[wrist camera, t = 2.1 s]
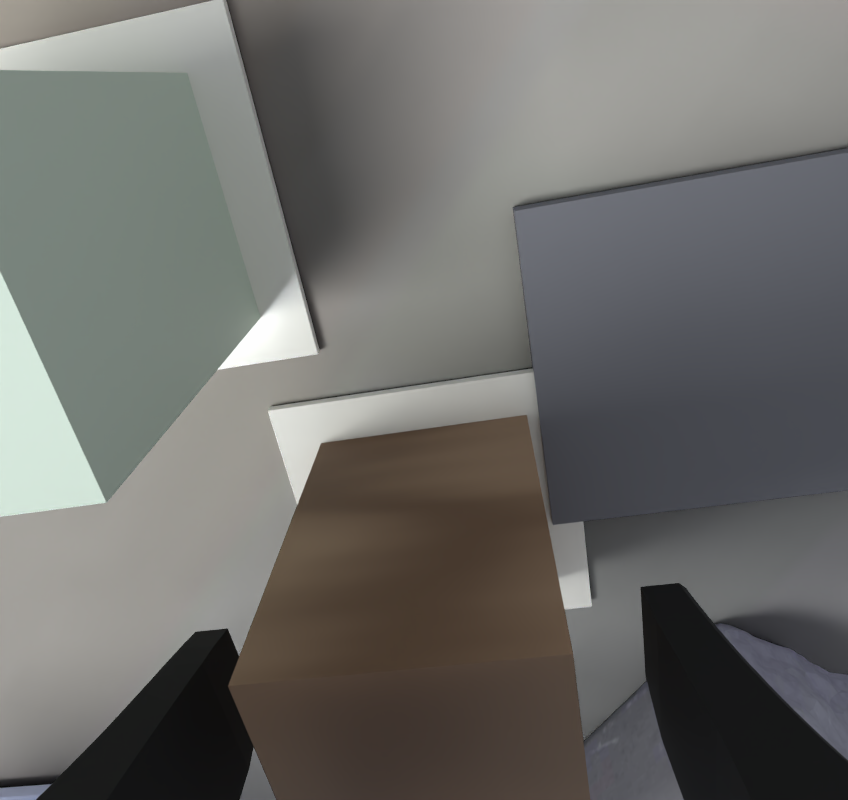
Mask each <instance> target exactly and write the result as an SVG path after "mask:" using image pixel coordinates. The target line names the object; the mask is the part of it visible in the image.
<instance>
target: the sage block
mask: <svg viewBox="0 0 848 800" xmlns="http://www.w3.org/2000/svg"><path fill="white" fill-rule="evenodd" d="M260 318H261V317H260V314H259V311H258V307H257V304H256V301H255V297H254V294H253V291H252V287H251V284H250V281H249V277H248V274H247V271H246V267H245V264H244V261H243V257H242V254H241V251H240V247H239V244H238V241H237V237H236V234H235V231H234V227H233V224H232V221H231V217H230V214H229V211H228V207H227V204H226V201H225V197H224V194H223V191H222V187H221V184H220V181H219V177H218V174H217V171H216V167H215V164H214V161H213V157H212V154H211V151H210V147H209V144H208V141H207V137H206V134H205V131H204V127H203V124H202V121H201V117H200V114H199V111H198V107H197V104H196V101H195V97H194V94H193V91H192V87H191V84H190V81H189V77H188V74H187V73H165V72H99V71H33V70H0V517H2V516H9V515H17V514H25V513H32V512H40V511H47V510H55V509H62V508H70V507H78V506H85V505H93V504H100V503H107V501H108V500H109V499H110V498H111V497H112V495H113V494H114V493H115V492H116V491H117V489H118V488H119V487H120V486H121V485H122V483H123V482H124V481H125V480H126V479H127V477H128V476H129V475H130V474H131V473H132V471H133V470H134V469H135V468H136V467H137V465H138V464H139V463H140V462H141V461H142V459H143V458H144V457H145V456H146V455H147V453H148V452H149V451H150V450H151V449H152V447H153V446H154V445H155V444H156V443H157V441H158V440H159V439H160V438H161V437H162V435H163V434H164V433H165V432H166V431H167V429H168V428H169V427H170V426H171V425H172V423H173V422H174V421H175V420H176V419H177V417H178V416H179V415H180V414H181V413H182V411H183V410H184V409H185V408H186V407H187V405H188V404H189V403H190V402H191V401H192V400H193V398H194V397H195V396H196V395H197V394H198V392H199V391H200V390H201V389H202V388H203V386H204V385H205V384H206V383H207V382H208V380H209V379H210V378H211V377H212V376H213V374H214V373H215V372H216V371H217V370H218V368H219V367H220V366H221V365H222V364H223V362H224V361H225V360H226V359H227V358H228V356H229V355H230V354H231V353H232V352H233V350H234V349H235V348H236V347H237V346H238V344H239V343H240V342H241V341H242V340H243V338H244V337H245V336H246V335H247V334H248V332H249V331H250V330H251V329H252V328H253V326H254V325H255V324H256V323H257V322H258V320H259V319H260Z"/></svg>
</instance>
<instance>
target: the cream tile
mask: <svg viewBox="0 0 848 800" xmlns="http://www.w3.org/2000/svg"><path fill="white" fill-rule="evenodd" d="M268 414H269V417H270V420H271V423H272V426H273V429H274V433H275V436H276V439H277V442H278V445H279V449H280V452H281V455H282V458H283V461H284V464H285V468H286V471H287V474H288V477H289V480H290V483H291V487H292V490H293V493H294V496H295V499H296V502H297V505H298V502H299V499H300V497H301V494H302V492H303V489H304V486H305V484H306V481H307V479H308V476H309V473H310V471H311V468H312V466H313V463H314V460H315V458H316V455H317V452H318V450H319V447H320V445H321V443H326V442H333V441H340V440H348V439H355V438H362V437H369V436H377V435H384V434H391V433H398V432H406V431H413V430H420V429H427V428H435V427H442V426H449V425H456V424H464V423H471V422H478V421H485V420H493V419H500V418H507V417H514V416H522V415H527V418H528V424H529V429H530V434H531V439H532V444H533V449H534V455H535V460H536V465H537V470H538V475H539V480H540V486H541V491H542V496H543V501H544V506H545V511H546V517H547V522H548V527H549V532H550V537H551V542H552V548H553V553H554V558H555V563H556V568H557V573H558V579H559V584H560V589H561V594H562V599H563V604H564V609H574V608H584V607H592V603H591V593H590V583H589V573H588V563H587V553H586V543H585V532H584V522H583V521H582V522H574V523H565V524H557V525H553V523H552V517H551V509H550V501H549V493H548V485H547V477H546V469H545V460H544V452H543V444H542V436H541V428H540V420H539V412H538V403H537V395H536V387H535V379H534V371H533V368H531V369H525V370H518V371H511V372H504V373H497V374H490V375H484V376H477V377H470V378H463V379H456V380H449V381H443V382H436V383H429V384H422V385H415V386H408V387H402V388H395V389H388V390H381V391H374V392H367V393H361V394H354V395H347V396H340V397H333V398H326V399H320V400H313V401H306V402H299V403H292V404H285V405H279V406H272V407H270V408H269V409H268Z"/></svg>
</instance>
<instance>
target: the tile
mask: <svg viewBox="0 0 848 800" xmlns="http://www.w3.org/2000/svg"><path fill="white" fill-rule="evenodd" d="M0 70H33V71H99V72H165V73H187V74H188V77H189V81H190V84H191V87H192V91H193V94H194V97H195V101H196V104H197V107H198V111H199V114H200V117H201V121H202V124H203V127H204V131H205V134H206V137H207V141H208V144H209V147H210V151H211V154H212V157H213V161H214V164H215V167H216V171H217V174H218V177H219V181H220V184H221V187H222V191H223V194H224V197H225V201H226V204H227V207H228V211H229V214H230V217H231V221H232V224H233V227H234V231H235V234H236V237H237V241H238V244H239V247H240V251H241V254H242V257H243V261H244V264H245V267H246V271H247V274H248V277H249V281H250V284H251V287H252V291H253V294H254V297H255V301H256V304H257V307H258V311H259V314H260V317H261V318H260V319H259V320H258V322H257V323H256V324H255V325H254V326H253V328H252V329H251V330H250V331H249V332H248V334H247V335H246V336H245V337H244V338H243V340H242V341H241V342H240V343H239V344H238V346H237V347H236V348H235V349H234V350H233V352H232V353H231V354H230V355H229V356H228V358H227V359H226V360H225V361H224V362H223V364H222V365H221V366H220V367H219V368H218V370H219V369H225V368H231V367H238V366H244V365H251V364H257V363H264V362H270V361H277V360H283V359H289V358H296V357H302V356H309V355H315V354H318V353H319V351H320V350H319V346H318V343H317V339H316V335H315V331H314V328H313V324H312V320H311V316H310V313H309V309H308V305H307V301H306V298H305V294H304V290H303V286H302V283H301V279H300V275H299V271H298V268H297V264H296V260H295V256H294V253H293V249H292V245H291V241H290V238H289V234H288V230H287V226H286V223H285V219H284V215H283V211H282V208H281V204H280V200H279V196H278V193H277V189H276V185H275V181H274V178H273V174H272V170H271V166H270V162H269V159H268V155H267V151H266V147H265V144H264V140H263V136H262V132H261V129H260V125H259V121H258V117H257V114H256V110H255V106H254V102H253V99H252V95H251V91H250V87H249V84H248V80H247V76H246V72H245V69H244V65H243V61H242V57H241V54H240V50H239V46H238V42H237V39H236V35H235V31H234V27H233V24H232V20H231V16H230V12H229V9H228V5H227V1H226V0H213V1H208V2H204V3H199V4H195V5H191V6H186V7H182V8H177V9H173V10H169V11H164V12H160V13H155V14H151V15H147V16H142V17H138V18H133V19H129V20H125V21H120V22H116V23H111V24H107V25H103V26H98V27H94V28H89V29H85V30H81V31H76V32H72V33H67V34H63V35H59V36H54V37H50V38H45V39H41V40H37V41H32V42H28V43H23V44H19V45H14V46H10V47H6V48H1V49H0Z"/></svg>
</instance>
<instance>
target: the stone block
mask: <svg viewBox="0 0 848 800" xmlns="http://www.w3.org/2000/svg"><path fill="white" fill-rule="evenodd" d="M715 625H716V627H717V628H718V629H719V630H720V631H721V632H722V634H723V635H724V636H725V637H726V638H727V639H728V640H729V642H730V643H731V644H732V645H733V646H734V647H735V648H736V650H737V651H738V652H739V653H740V654H741V655H742V656H743V657H744V658H745V660H746V661H747V662H748V663H749V664H750V665H751V666H752V667H753V668H754V669H755V670H756V671H757V672H758V673H759V674H760V675H761V676H762V678H763V679H764V680H765V681H766V682H767V683H768V684H769V685H770V686H771V687H772V688H773V689H774V690H775V691H776V692H777V693H778V694H779V695H780V696H781V697H782V698H783V699H784V700H785V701H786V702H787V703H788V704H789V705H790V706H791V707H792V708H793V709H794V710H795V711H796V712H797V713H798V714H799V715H800V716H801V717H802V718H803V719H804V720H805V721H806V722H807V723H808V724H809V725H810V726H811V727H812V728H813V729H815V730H816V731H817V732H818V733H819V734H820V735H821V736H822V737H823V738H824V739H825V740H826V741H827V742H828V743H829V744H830V745H832V746H833V747H834V748H835V749H836V750H837V751H838V752H839V753H840V754H841V755H843V756H844V757H845V758H846V759H847V760H848V675H845V674H838V673H831V672H828V671H826V670H825V669H823V668H821V667H819V666H817V665H815V664H812V663H810V662H809V661H808V660H807V659H806V658H804V657H803V656H802V655H800V654H797V653H796V652H795V651H794V650H791V649H789V648H786V647H782V646H778V645H775V644H773V643H770V642H767V641H765V640H762V639H759V638H756V637H754V636H752V635H751V634H749V633H748V632H745V631H743V630H741V629H738V628H736V627H733V626H731V625H727V624H722V623H719V624H715ZM584 750H585V759H586V767H587V776H588V784H589V793H590V800H684V799H683V797H682V794H681V791H680V788H679V786H678V783H677V780H676V777H675V775H674V772H673V769H672V766H671V763H670V761H669V758H668V755H667V752H666V750H665V747H664V744H663V741H662V738H661V735H660V731H659V727H658V723H657V719H656V715H655V711H654V707H653V703H652V699H651V695H650V691H649V687H648V683H647V681H646V682H645V683H644V684H643V685H642V686H641V687H640V688H639V689H638V690H637V691H636V692H635V693H634V694H633V695H632V696H631V697H630V698H629V699H628V700H626V701H625V702H624V703H623V704H622V705H621V706H620V707H619V708H618V709H617V710H616V711H615V712H614V713H613V714H612V715H611V716H610V717H609V718H608V719H607V720H606V721H605V722H604V723H603V724H602V725H601V726H600V727H599V728H597V729H596V730H595V731H594V732H593V733H592V734H591V735H590V736H589V737H588V738H587V739H586V740H585V741H584Z"/></svg>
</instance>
